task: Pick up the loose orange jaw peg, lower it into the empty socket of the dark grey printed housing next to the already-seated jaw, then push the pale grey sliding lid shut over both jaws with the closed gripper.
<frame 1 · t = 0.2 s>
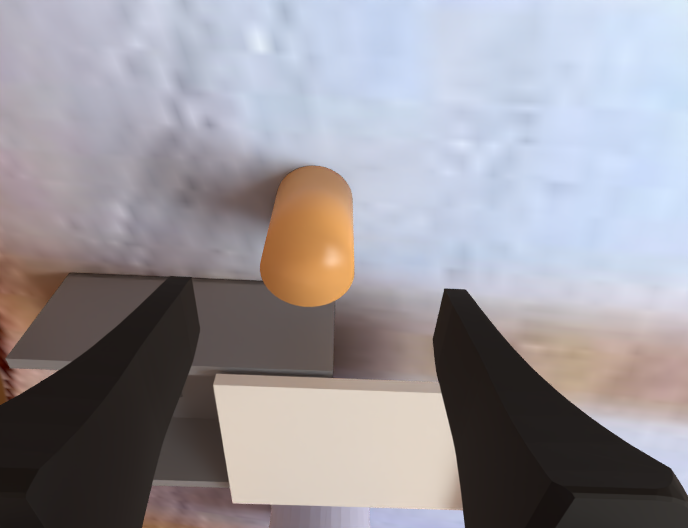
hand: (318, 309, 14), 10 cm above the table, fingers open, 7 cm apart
lid: (370, 465, 23), point 7 cm above the table, slide at 9.0 cm
housing: (213, 344, 29), on the table
jaw peg: (314, 200, 23), on the table
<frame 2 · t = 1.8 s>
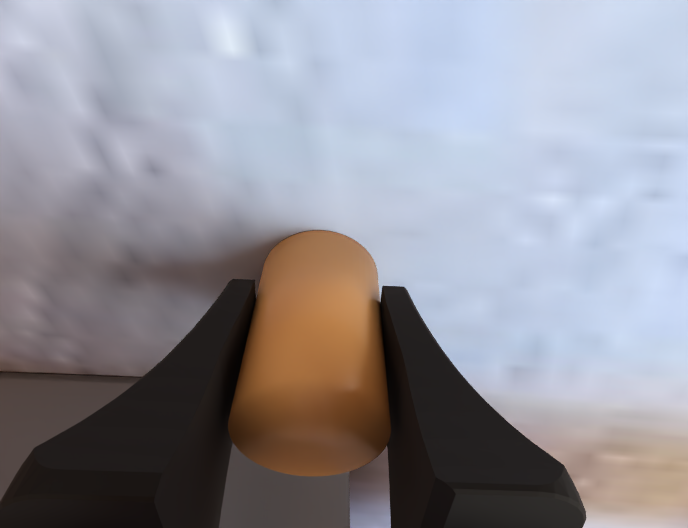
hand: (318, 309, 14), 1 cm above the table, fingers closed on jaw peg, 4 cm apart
housing: (179, 455, 21), on the table
jaw peg: (320, 278, 15), on the table, touching gripper
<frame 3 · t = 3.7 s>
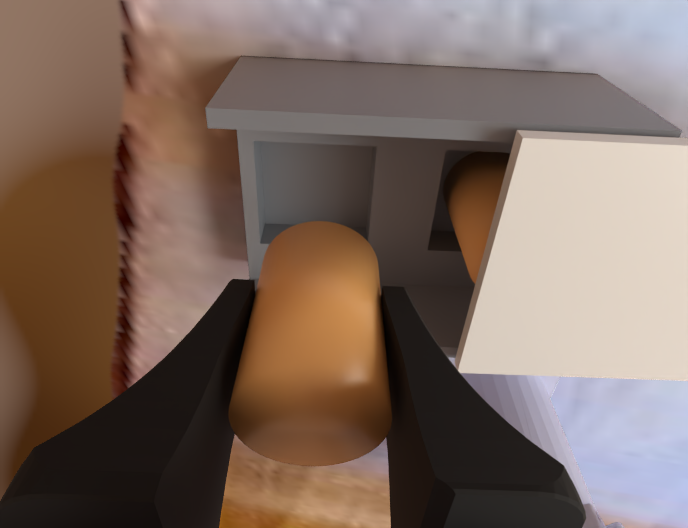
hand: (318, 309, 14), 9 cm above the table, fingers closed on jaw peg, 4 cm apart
jaw peg seated: (483, 187, 22), resting on housing
housing: (405, 180, 22), on the table
jaw peg: (320, 270, 15), point 8 cm above the table, touching gripper
when the fingers open (3 cm above the table, at t = 5.4 s): jaw peg drops 1 cm, resting on housing.
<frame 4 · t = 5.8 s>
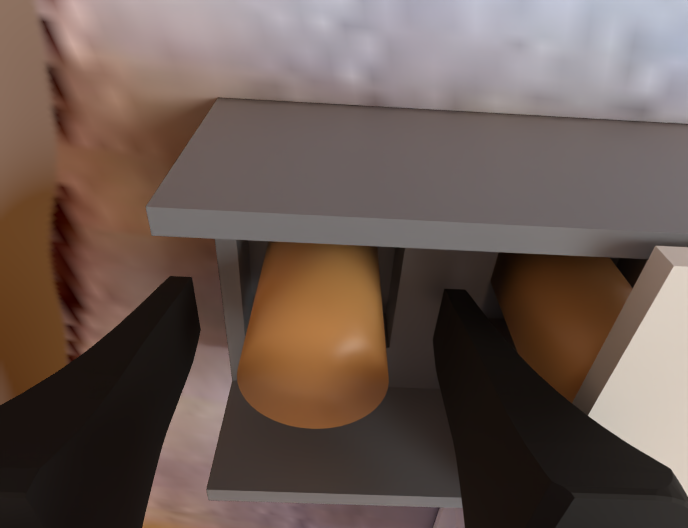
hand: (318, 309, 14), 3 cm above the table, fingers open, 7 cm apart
jaw peg seated: (543, 267, 16), resting on housing
housing: (439, 257, 16), on the table
jaw peg: (322, 251, 16), resting on housing
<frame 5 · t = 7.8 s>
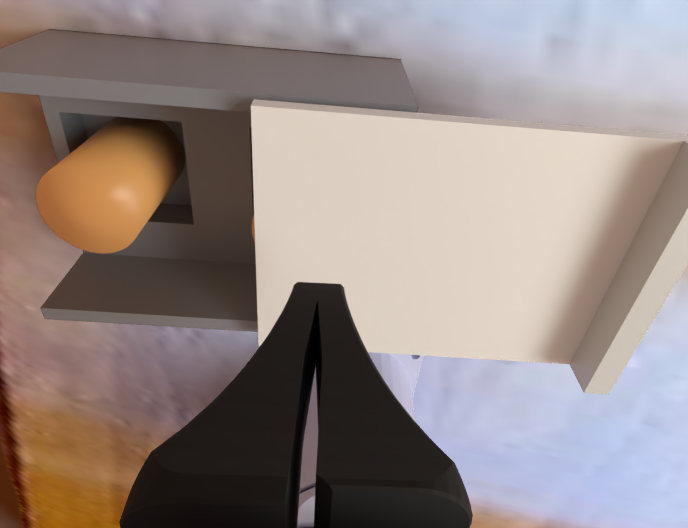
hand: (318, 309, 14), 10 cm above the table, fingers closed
lid: (455, 266, 17), point 7 cm above the table, slide at 9.0 cm
housing: (234, 160, 22), on the table
jaw peg: (144, 151, 22), resting on housing
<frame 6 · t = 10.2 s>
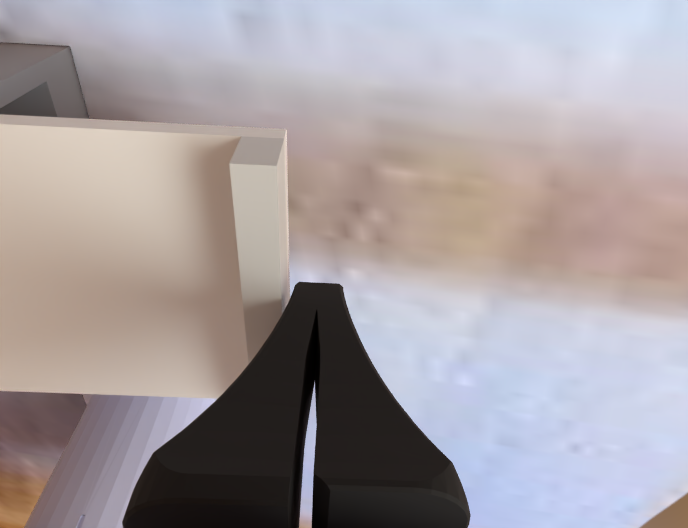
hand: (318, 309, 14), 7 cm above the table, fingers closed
lid: (40, 296, 14), point 7 cm above the table, slide at 8.1 cm, touching gripper
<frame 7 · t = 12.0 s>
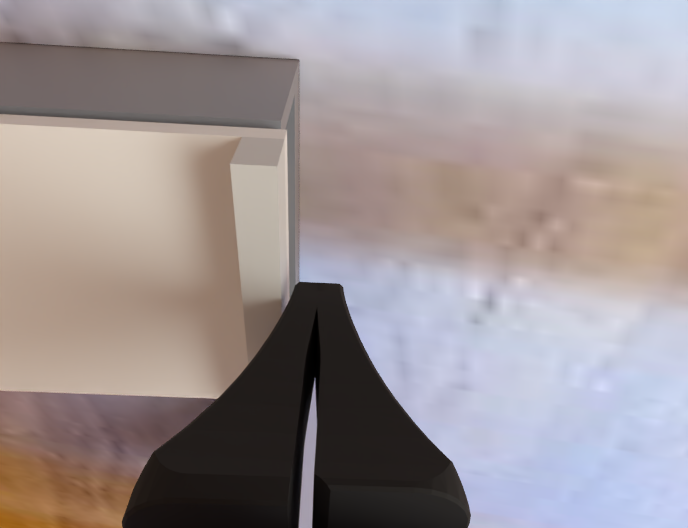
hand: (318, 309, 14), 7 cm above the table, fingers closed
lid: (39, 296, 14), point 7 cm above the table, slide at 0.2 cm, touching gripper
housing: (127, 178, 20), on the table
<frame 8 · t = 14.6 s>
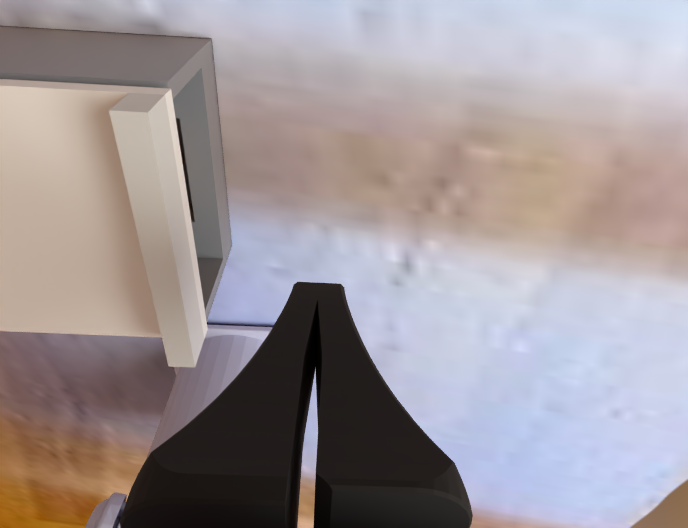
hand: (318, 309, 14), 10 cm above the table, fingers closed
housing: (68, 147, 22), on the table
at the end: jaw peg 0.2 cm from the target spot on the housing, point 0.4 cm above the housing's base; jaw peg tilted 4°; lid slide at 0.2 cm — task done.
